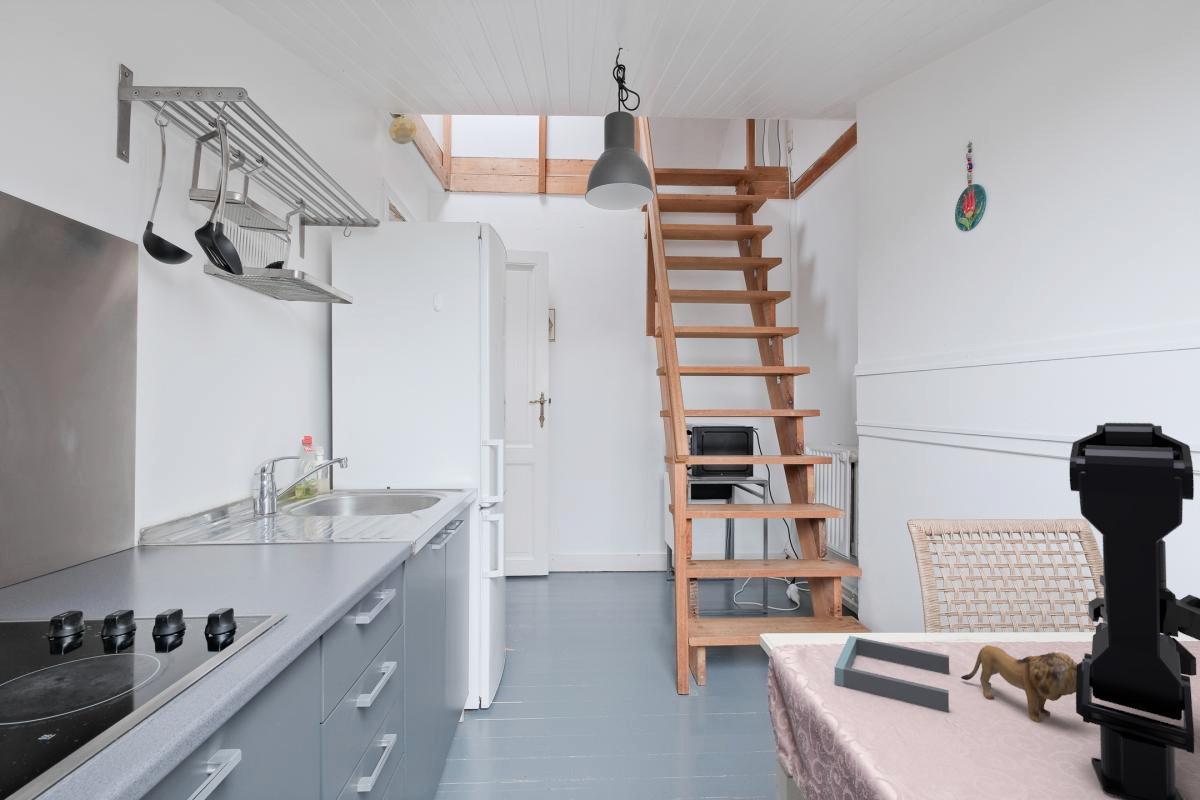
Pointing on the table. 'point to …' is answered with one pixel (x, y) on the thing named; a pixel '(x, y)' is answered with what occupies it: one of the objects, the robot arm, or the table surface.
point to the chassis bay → (890, 685)
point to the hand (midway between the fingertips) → (1136, 701)
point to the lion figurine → (1029, 676)
